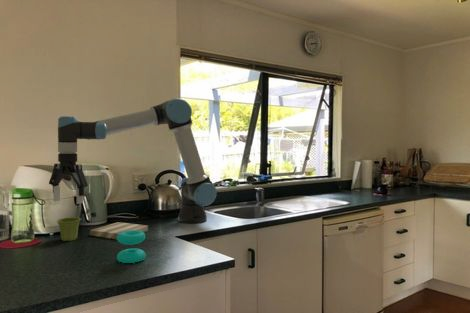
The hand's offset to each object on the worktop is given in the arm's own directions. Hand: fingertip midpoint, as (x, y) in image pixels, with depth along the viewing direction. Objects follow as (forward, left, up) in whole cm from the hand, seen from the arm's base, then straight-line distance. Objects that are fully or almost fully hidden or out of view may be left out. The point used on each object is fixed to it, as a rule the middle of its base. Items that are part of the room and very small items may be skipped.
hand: (68, 202), depth 164 cm
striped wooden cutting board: (-12, -18, -17) cm, 28 cm away
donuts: (-43, +11, -16) cm, 47 cm away
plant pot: (0, 0, -16) cm, 16 cm away
